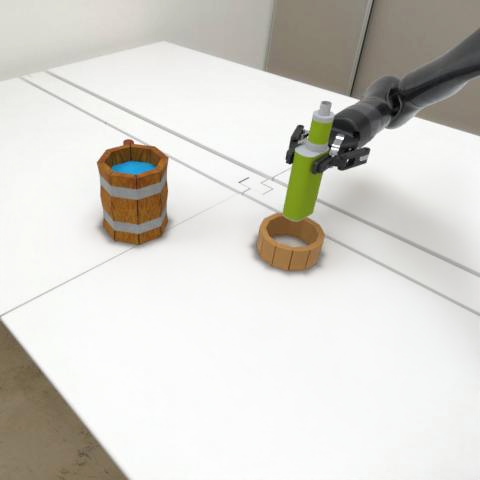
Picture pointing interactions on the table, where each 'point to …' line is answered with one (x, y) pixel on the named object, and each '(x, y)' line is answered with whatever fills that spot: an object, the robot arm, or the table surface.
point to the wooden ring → (288, 255)
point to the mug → (134, 192)
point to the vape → (308, 166)
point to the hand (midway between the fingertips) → (301, 163)
